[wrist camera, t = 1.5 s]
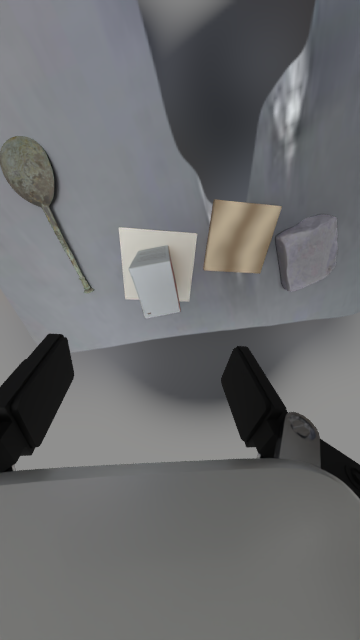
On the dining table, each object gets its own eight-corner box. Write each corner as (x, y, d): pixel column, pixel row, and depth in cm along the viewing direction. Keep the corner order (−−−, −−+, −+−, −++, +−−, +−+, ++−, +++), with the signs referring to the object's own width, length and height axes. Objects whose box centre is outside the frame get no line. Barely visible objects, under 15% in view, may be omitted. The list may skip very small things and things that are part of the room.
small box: (176, 286, 36) (181, 313, 27) (149, 291, 36) (144, 320, 27) (168, 243, 31) (171, 259, 23) (137, 249, 31) (127, 268, 23)
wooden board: (278, 206, 30) (281, 206, 29) (257, 271, 36) (259, 273, 35) (213, 199, 29) (215, 199, 28) (203, 268, 34) (204, 270, 34)
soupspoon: (44, 132, 24) (-2, 143, 24) (26, 121, 21) (-26, 134, 21) (106, 287, 35) (74, 292, 36) (100, 294, 32) (65, 300, 33)
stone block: (317, 207, 32) (268, 236, 32) (345, 206, 28) (289, 239, 28) (318, 266, 39) (277, 290, 39) (340, 271, 35) (295, 298, 35)
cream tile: (197, 233, 31) (197, 233, 31) (188, 301, 38) (189, 301, 38) (119, 227, 30) (118, 227, 29) (125, 298, 37) (125, 299, 36)
